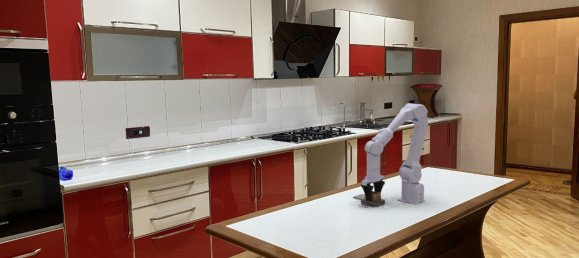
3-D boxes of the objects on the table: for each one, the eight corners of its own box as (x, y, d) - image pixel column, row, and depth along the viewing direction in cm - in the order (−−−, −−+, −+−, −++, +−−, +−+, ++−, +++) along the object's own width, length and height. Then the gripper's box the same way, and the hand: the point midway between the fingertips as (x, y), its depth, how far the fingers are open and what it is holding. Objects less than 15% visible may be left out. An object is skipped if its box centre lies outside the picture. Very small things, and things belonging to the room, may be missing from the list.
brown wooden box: (380, 199, 190) (381, 192, 190) (374, 201, 186) (374, 194, 186) (371, 197, 193) (371, 190, 193) (364, 199, 190) (365, 192, 190)
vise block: (385, 203, 190) (385, 194, 189) (376, 207, 185) (376, 197, 184) (369, 200, 195) (369, 190, 195) (360, 203, 191) (360, 193, 190)
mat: (374, 197, 200) (374, 196, 200) (365, 200, 195) (365, 199, 195) (361, 195, 205) (361, 193, 204) (352, 198, 200) (352, 196, 200)
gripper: (374, 164, 196) (374, 193, 198) (356, 169, 186) (355, 200, 188) (388, 166, 191) (387, 196, 193) (369, 172, 181) (369, 203, 183)
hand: (372, 198), depth 190 cm, fingers open, 6 cm apart
